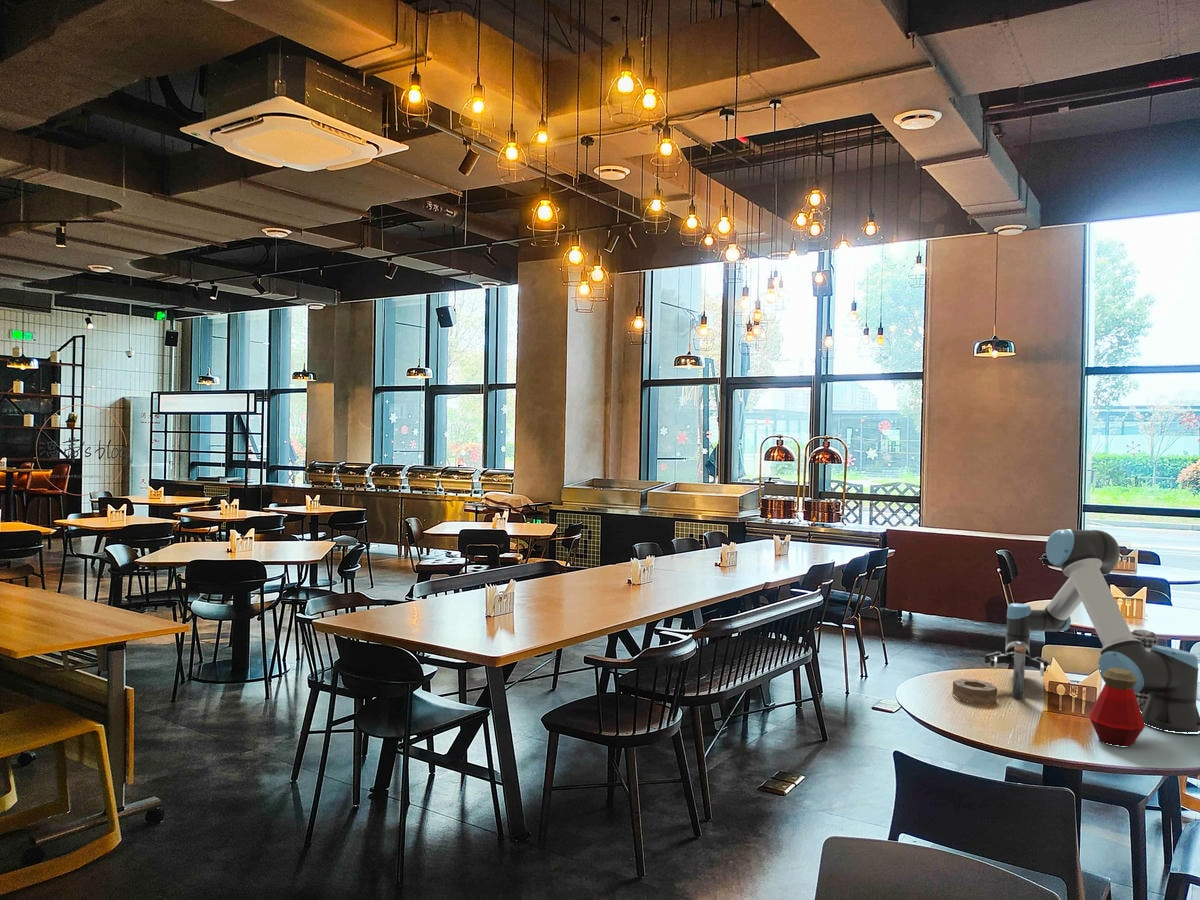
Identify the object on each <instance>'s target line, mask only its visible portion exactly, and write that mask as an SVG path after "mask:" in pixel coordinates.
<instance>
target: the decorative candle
mask: <svg viewBox="0 0 1200 900" xmlns="http://www.w3.org/2000/svg"><path fill="white" fill-rule="evenodd" d="M1131 634H1132V636H1133V638H1135V639H1138V640H1140V641H1142V643H1143V645H1144V647H1145V649H1146V651H1147V652H1151V650H1150V649H1151V647H1152V646H1153V645H1158V641H1159V639H1160V638H1159V637H1158V636H1157V634H1156V633H1154V631H1151V630H1146V629H1133V630H1132V631H1131ZM1135 696H1136V699H1137V703H1138V706H1139V709H1140V711H1141V712H1142V711H1143V708H1144V706H1145V704H1146V702H1147V700H1148V697H1149V692H1141V693H1135Z"/></svg>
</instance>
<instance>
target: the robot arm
mask: <svg viewBox="0 0 1200 900" xmlns="http://www.w3.org/2000/svg"><path fill="white" fill-rule="evenodd" d="M1120 551H1121V550H1120V546H1119V544H1118V542H1117V540H1116V539H1115V538H1114V536H1112V535H1111V534H1109V533H1108V532H1106V531H1104V530H1099V529H1090V530H1089V529H1070V528H1067V529H1058V530H1055V531H1053V532H1052V533H1051V534H1050V536H1049V537H1048V538H1047V542H1046V546H1045V554H1046V558H1047V560H1048V562H1049V563H1050V564H1051V565H1053V566H1055V567H1060V570H1061V571H1062V573H1063V575H1064V576H1066V577H1068V578H1067V580H1066V581H1065V583H1064V584H1062V586H1061V587H1060V588H1059V590H1058V591H1057V593H1056V594H1055V595H1054V597H1053V598H1052V599H1051V601H1050V602H1049V603H1048V604H1047V605H1046V607H1044V608H1043V609H1032V607H1031V605H1029V604H1025V603H1019V602H1018V603H1017V602H1016V603H1015V602H1014V603H1013V602H1012V603H1009V604H1008V605H1007V611H1006V612H1007V613H1006V633H1005V642H1004V644H1005V645H1004V648H1005V652H1004V653H1003V654H1002V652H1001V651H999V650H995V651H994V652H991V653H988V654H984V663H986V664H988V663H989V664H990V666H991V667H993V670H997V669H998V664H1007V665H1010V666H1013V667H1014V647H1015V642H1016V641H1019V642H1024V643H1026V653H1025V667H1028V668H1031V667H1032V668H1034V669H1037V670H1039V671H1040V677H1044V676H1045V673H1046V672H1045V671H1046V668H1047V666H1048V665H1049V664H1050V663H1051V661H1047V660H1046V659H1044V658H1042V656H1038V655H1037V656H1036V657H1032V656H1031V654H1030V637H1031V632H1055V633H1058V632H1065V631H1067V630H1069V628H1070V627H1071V625H1070V624H1071V623H1072V619H1071V615H1072V614H1073V613H1074V611H1076V609H1077V608H1078V607H1079V606H1080V604H1081V603H1082V604H1083V605H1084V609H1085V610H1086V613H1087V614H1088V617H1089V618H1090V621H1091V623H1092V625H1093V627H1094V630H1095V632H1096V634H1097V636H1098V638H1099V640H1100V642H1101V644H1102V647H1101V649H1100V651H1099V652H1100V657H1099V659H1098V665H1099V666H1098V672H1099V674H1100V677H1101V678H1102V681H1103V682H1104V683H1105V680H1104V677H1103V674H1102V673H1103V672H1105V671H1106V670H1108V669H1109V668H1122V669H1126V670H1129V671H1131V672H1132V673H1133V675H1134V676H1135V677H1136V678H1137V682H1136V684H1135V686H1134V688H1133V690H1134V693H1141V692H1149V697H1148V700H1147V702H1146V704H1145V706H1144V708H1143V711H1142V713H1141V715H1142V718H1143V722H1144V723H1145V724H1147V725H1150V726H1153V727H1156V728H1159V729H1162V730H1168V731H1175V732H1187V733H1188V732H1198V731H1200V714H1199V712H1200V711H1199V710H1198V707H1197V697H1198V696H1197V695H1198V694H1197V693H1198V681H1199V680H1198V679H1199V676H1198V675H1199V660H1198V657H1197V655H1196V654H1194V653H1191V652H1189V651H1186V650H1182V649H1179V648H1178V649H1177V648H1174V647H1168V646H1164V645H1159V644H1157V645H1153V646H1152V647H1151V649H1150V650H1151V652H1147V651H1146V649H1145V647H1144V645H1143V643H1142V641H1140V640H1138V639H1135V638H1133V636H1132V634H1131V633H1132V631H1131V630H1130V628H1129V626H1128V623H1127V622H1126V620H1125V618H1124V616H1123V613H1122V611H1121V609H1120V607H1119V605H1118V603H1117V601H1116V599H1115V597H1114V596H1113V594H1112V591H1111V589H1110V587H1109V585H1108V583H1107V581H1106V579H1105V577H1104V576H1107V575H1109V574H1111V572H1112V571H1113V570H1114V569H1115V567H1116V566H1117V564H1118V562H1119V559H1120V555H1121V554H1120V553H1121V552H1120ZM1100 670H1101V672H1100ZM1145 724H1144V725H1145ZM1147 725H1146V726H1147Z"/></svg>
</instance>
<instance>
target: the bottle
mask: <svg viewBox="0 0 1200 900" xmlns="http://www.w3.org/2000/svg"><path fill="white" fill-rule="evenodd" d="M1102 674H1103V677H1104V680H1105V682H1104V683H1105V684H1104V686H1103V687H1102V690H1101V691H1100V693H1099V695H1098V696H1097V699H1096V701H1095V702H1094V704H1093V706H1092V708H1091V710H1090V711H1089V714H1088V716H1089V720H1090V722H1091V724H1092V726H1093V729H1094V731H1095V733H1096V735H1097V737H1098V740H1099V741H1100V742H1101V741H1102V742H1101V743H1103V742H1104V743H1103V744H1105V743H1108V744H1112V745H1119V746H1130V745H1132V744H1133V745H1134V744H1135V742H1136V741H1137V739H1138V737H1139V736H1140V735H1141V734H1142V732H1143V730H1144V729H1145V726H1146V725H1145V724H1144V722H1143V718H1142V715H1141V712H1140V709H1139V706H1138V703H1137V699H1136V696H1135V693H1134V690H1133V688H1134V686H1135V684H1136V682H1137V678H1136V677H1135V676H1134V675H1133V673H1132V672H1131V671H1129V670H1126V669H1122V668H1109V669H1108V670H1106V671H1105V672H1103V673H1102ZM1104 680H1103V681H1104ZM1108 744H1107V745H1108ZM1112 745H1111V746H1112ZM1133 745H1132V746H1133ZM1130 747H1131V746H1130Z"/></svg>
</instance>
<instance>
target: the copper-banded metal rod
mask: <svg viewBox="0 0 1200 900" xmlns="http://www.w3.org/2000/svg"><path fill="white" fill-rule="evenodd" d="M1025 653H1026V643H1024V642H1019V641H1016V642H1015V647H1014V666H1013V673H1012V674H1013V675H1012V694H1011V695H1012V698H1013V699H1016V700H1023V699H1024V696H1025V695H1024V691H1025V690H1024V689H1025V671H1026V666H1025Z"/></svg>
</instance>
